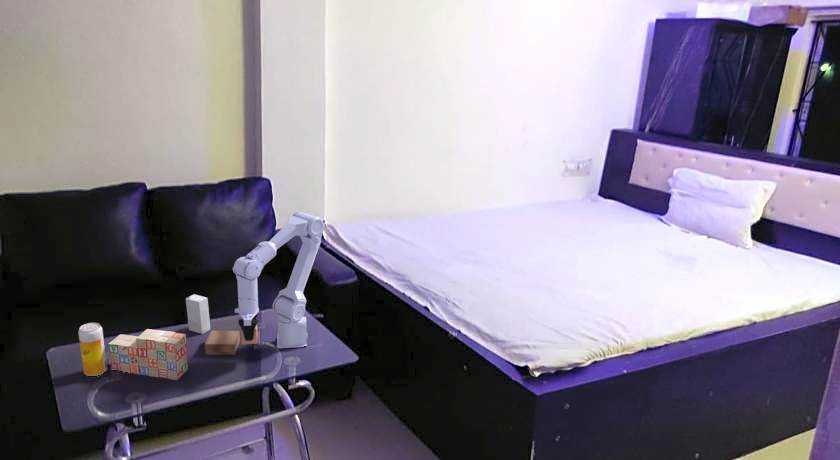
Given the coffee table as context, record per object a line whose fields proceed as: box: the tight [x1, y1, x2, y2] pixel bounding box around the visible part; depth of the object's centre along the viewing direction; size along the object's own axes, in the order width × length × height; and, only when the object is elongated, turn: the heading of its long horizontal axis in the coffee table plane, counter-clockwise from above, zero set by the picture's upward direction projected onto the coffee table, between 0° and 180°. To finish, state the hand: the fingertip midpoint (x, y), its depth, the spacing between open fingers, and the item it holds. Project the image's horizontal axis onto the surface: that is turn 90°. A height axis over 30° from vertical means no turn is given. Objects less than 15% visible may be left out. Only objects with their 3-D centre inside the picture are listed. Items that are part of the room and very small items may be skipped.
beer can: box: [78, 322, 108, 377], centre depth 178 cm, size 6×6×15 cm
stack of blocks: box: [107, 328, 189, 381], centre depth 181 cm, size 21×6×12 cm, turn 81°
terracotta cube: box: [240, 324, 259, 345], centre depth 188 cm, size 4×4×5 cm
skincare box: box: [185, 293, 211, 335], centre depth 206 cm, size 6×4×12 cm
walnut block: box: [204, 330, 241, 356], centre depth 197 cm, size 9×9×4 cm
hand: (249, 336), depth 189 cm, fingers closed on terracotta cube, 4 cm apart
